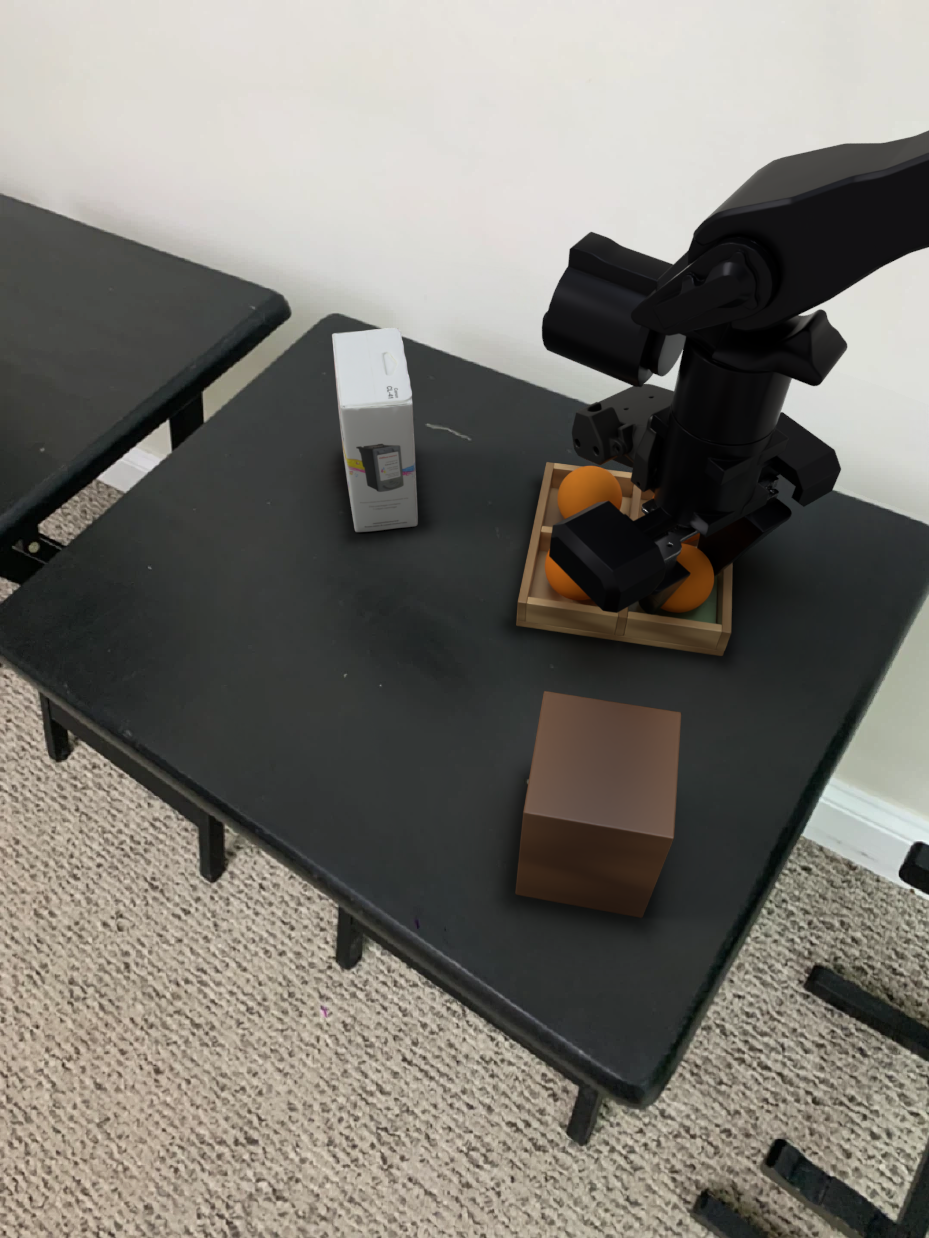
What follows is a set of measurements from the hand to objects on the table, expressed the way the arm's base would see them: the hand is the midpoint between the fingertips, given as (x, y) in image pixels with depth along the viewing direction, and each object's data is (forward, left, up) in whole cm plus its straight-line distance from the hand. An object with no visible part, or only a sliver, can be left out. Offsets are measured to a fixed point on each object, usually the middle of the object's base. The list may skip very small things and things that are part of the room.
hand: (674, 594), depth 63 cm
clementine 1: (+7, -7, -1) cm, 9 cm away
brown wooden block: (+4, +19, -1) cm, 19 cm away
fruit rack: (+3, -3, -1) cm, 5 cm away
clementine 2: (+7, 0, -1) cm, 7 cm away
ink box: (+22, -7, -2) cm, 23 cm away
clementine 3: (0, 0, -1) cm, 1 cm away
